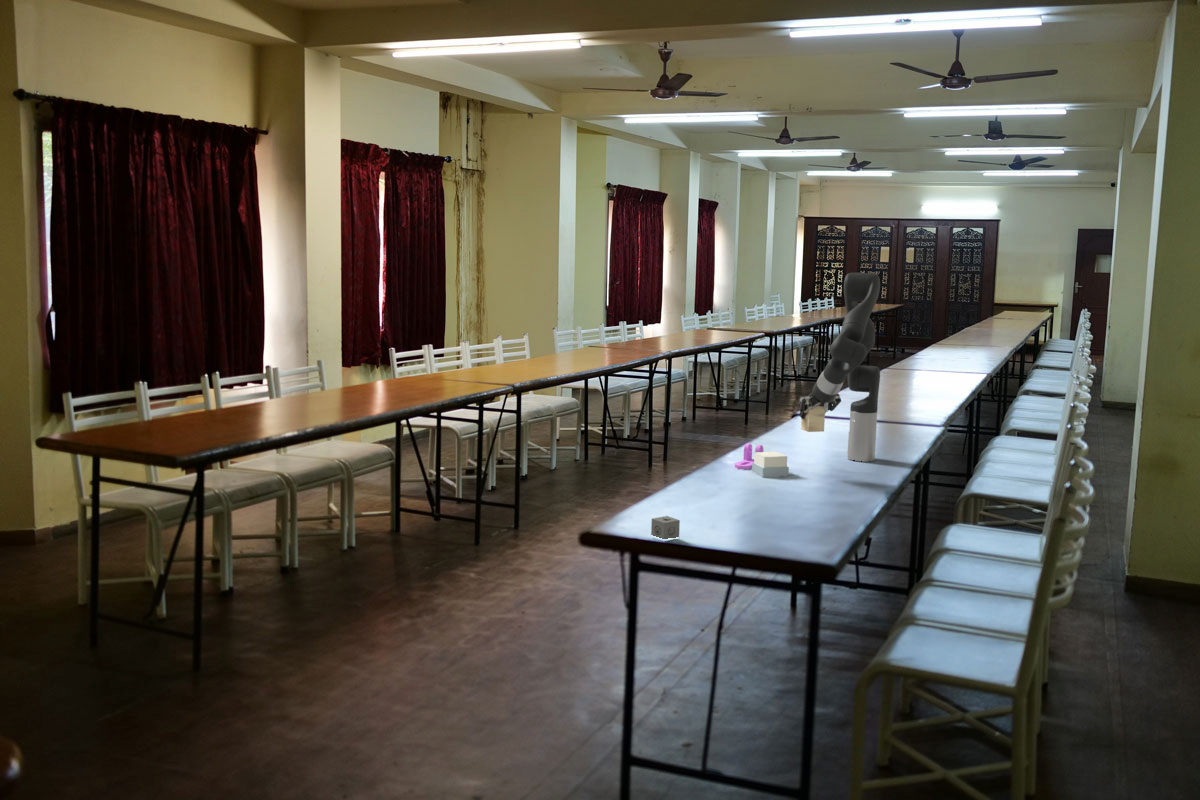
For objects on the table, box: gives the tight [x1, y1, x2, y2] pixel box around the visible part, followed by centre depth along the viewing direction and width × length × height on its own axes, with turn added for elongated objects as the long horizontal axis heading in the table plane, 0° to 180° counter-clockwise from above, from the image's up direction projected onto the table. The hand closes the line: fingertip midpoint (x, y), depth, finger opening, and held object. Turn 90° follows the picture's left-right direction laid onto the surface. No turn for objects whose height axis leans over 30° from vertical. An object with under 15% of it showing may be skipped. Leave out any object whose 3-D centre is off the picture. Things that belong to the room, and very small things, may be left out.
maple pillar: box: [800, 401, 826, 433], centre depth 339 cm, size 6×6×10 cm
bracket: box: [733, 443, 764, 470], centre depth 355 cm, size 13×6×7 cm, turn 147°
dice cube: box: [650, 515, 681, 539], centre depth 264 cm, size 5×5×5 cm
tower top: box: [753, 451, 788, 468], centre depth 343 cm, size 8×8×4 cm
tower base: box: [751, 463, 790, 478], centre depth 344 cm, size 9×9×4 cm
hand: (810, 416), depth 341 cm, fingers closed on maple pillar, 5 cm apart
